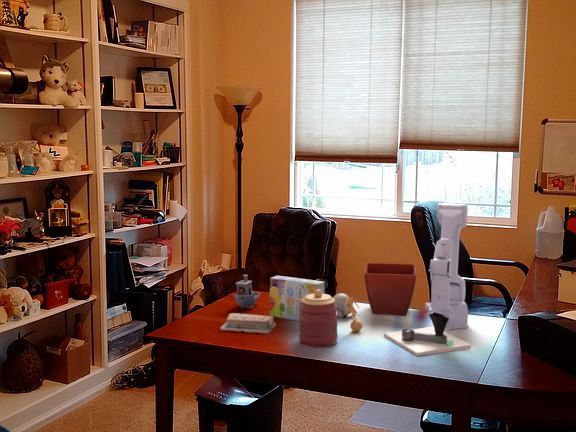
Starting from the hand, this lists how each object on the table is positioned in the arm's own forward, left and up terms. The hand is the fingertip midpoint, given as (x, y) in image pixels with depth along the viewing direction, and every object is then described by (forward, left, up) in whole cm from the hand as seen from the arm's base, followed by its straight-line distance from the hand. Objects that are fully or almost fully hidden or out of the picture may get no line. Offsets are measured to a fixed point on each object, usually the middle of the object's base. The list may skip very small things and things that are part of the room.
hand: (439, 335), depth 210 cm
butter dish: (+53, -40, -4) cm, 66 cm away
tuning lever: (+5, -2, -2) cm, 5 cm away
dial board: (+3, -4, -3) cm, 5 cm away
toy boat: (+46, -66, -3) cm, 80 cm away
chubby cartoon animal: (+17, -42, -3) cm, 46 cm away
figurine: (+20, -23, -3) cm, 30 cm away
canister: (+36, -17, -3) cm, 40 cm away
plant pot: (-4, -40, -3) cm, 41 cm away
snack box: (+33, -44, -3) cm, 55 cm away
